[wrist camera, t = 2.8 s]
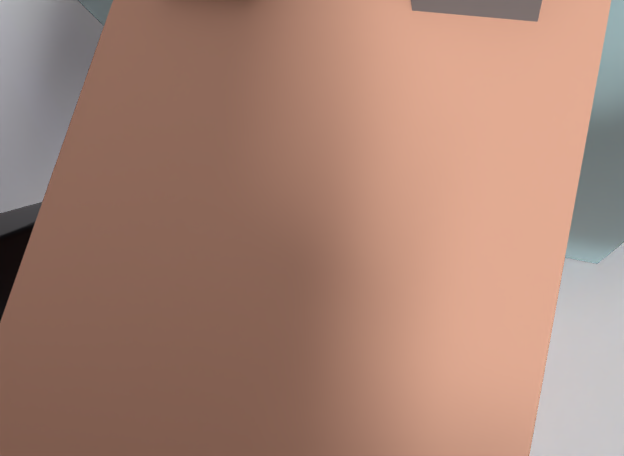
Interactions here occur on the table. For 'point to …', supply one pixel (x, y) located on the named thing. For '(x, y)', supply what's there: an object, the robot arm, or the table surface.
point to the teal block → (597, 154)
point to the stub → (304, 231)
